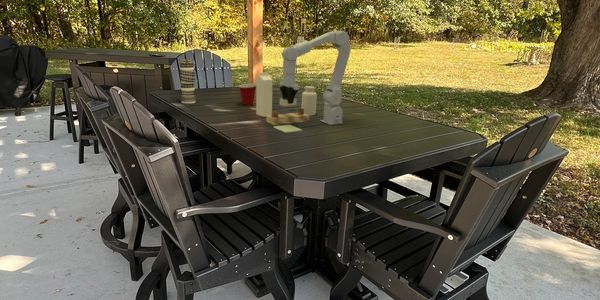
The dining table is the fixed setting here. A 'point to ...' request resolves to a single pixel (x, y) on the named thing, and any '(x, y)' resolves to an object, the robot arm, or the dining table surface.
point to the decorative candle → (187, 81)
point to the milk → (264, 95)
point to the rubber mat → (287, 128)
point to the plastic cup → (247, 93)
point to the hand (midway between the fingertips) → (288, 102)
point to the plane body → (287, 117)
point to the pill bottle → (309, 100)
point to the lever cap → (285, 102)
